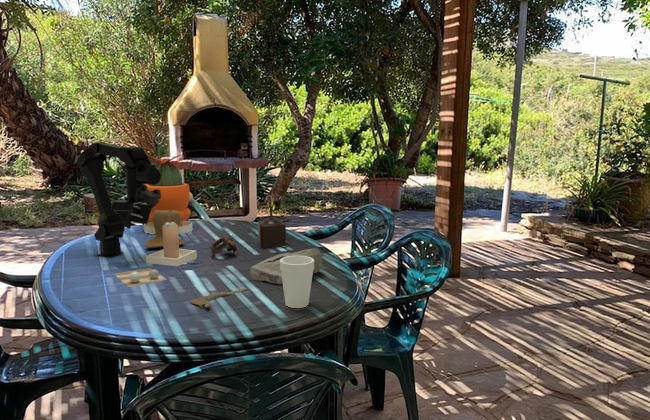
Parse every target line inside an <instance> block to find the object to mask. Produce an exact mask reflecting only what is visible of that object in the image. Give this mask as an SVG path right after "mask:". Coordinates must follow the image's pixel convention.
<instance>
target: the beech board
mask: <svg viewBox="0 0 650 420" xmlns="http://www.w3.org/2000/svg"><path fill="white" fill-rule="evenodd" d="M151 270H153V269H152V267H146V268H141V269H135V270H129V271H124V272H118V273H113V275H114V276H115V277H117V279H119V280H120V282H122V283H123V285H125V286H126V287H128V288H130V287H137V286H141V285H142V286H143V285H148V284H152V283H157V282H162V281H163V282H164V281H168V279H167V278H165V277H164V276H163V275H162V274H160V273H159V276H158V277H157V278H155V279H152V278H150V277H149V272H150V271H151ZM134 271H136V272H139V273H140V276H141V277H140V280H139V281H138V282H131V281H130V280H129V275H130V273H131V272H134Z"/></svg>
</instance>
